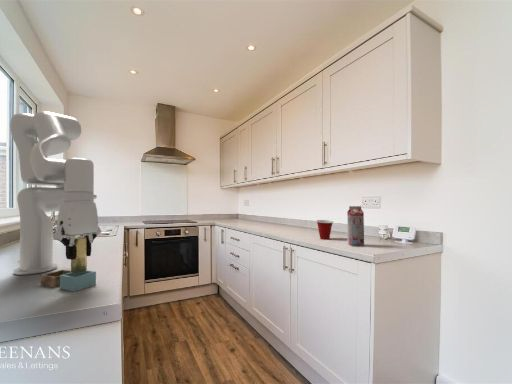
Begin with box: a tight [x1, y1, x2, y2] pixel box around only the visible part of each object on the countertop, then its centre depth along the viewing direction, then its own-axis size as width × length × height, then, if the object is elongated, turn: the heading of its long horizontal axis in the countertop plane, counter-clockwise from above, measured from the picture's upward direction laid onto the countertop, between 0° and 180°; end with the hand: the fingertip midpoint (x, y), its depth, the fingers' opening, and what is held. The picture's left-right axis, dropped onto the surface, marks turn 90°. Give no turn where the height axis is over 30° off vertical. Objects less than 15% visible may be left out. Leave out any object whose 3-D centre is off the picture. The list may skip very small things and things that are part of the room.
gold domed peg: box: [70, 236, 88, 273], centre depth 78 cm, size 4×4×10 cm
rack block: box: [59, 270, 97, 292], centre depth 78 cm, size 7×7×4 cm
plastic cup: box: [316, 219, 334, 240], centre depth 166 cm, size 11×11×12 cm
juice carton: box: [346, 205, 365, 247], centre depth 143 cm, size 7×7×22 cm
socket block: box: [40, 269, 71, 288], centre depth 82 cm, size 7×7×3 cm
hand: (78, 256), depth 78 cm, fingers closed on gold domed peg, 4 cm apart
